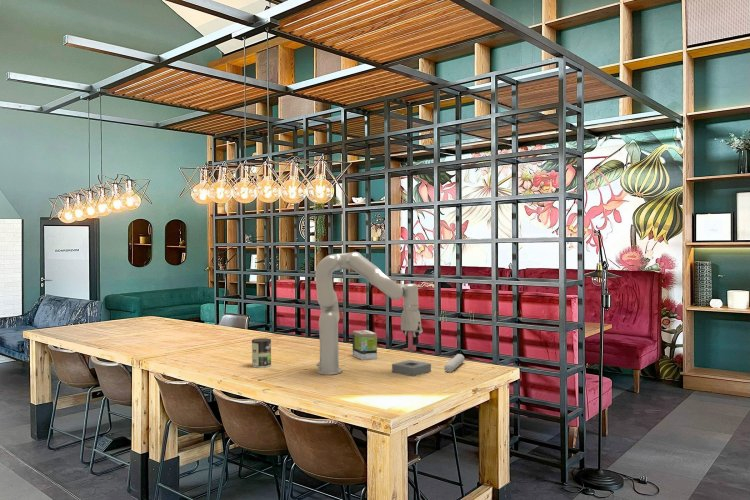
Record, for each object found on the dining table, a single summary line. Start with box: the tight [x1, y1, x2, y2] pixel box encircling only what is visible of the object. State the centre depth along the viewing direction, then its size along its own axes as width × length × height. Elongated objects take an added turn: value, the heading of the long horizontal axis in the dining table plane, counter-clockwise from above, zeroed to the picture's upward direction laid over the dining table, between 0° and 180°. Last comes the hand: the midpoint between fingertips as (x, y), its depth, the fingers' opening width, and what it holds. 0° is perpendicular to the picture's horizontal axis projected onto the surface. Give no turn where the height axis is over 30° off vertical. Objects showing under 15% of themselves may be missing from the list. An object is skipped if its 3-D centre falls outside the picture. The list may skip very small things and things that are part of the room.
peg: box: [407, 331, 417, 352], centre depth 292 cm, size 4×4×12 cm
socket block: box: [391, 359, 432, 377], centre depth 293 cm, size 14×14×4 cm
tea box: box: [352, 329, 378, 361], centre depth 331 cm, size 15×10×15 cm
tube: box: [443, 353, 465, 373], centre depth 301 cm, size 5×5×25 cm
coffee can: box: [251, 337, 272, 369], centre depth 311 cm, size 10×10×14 cm
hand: (411, 343), depth 292 cm, fingers closed on peg, 4 cm apart
